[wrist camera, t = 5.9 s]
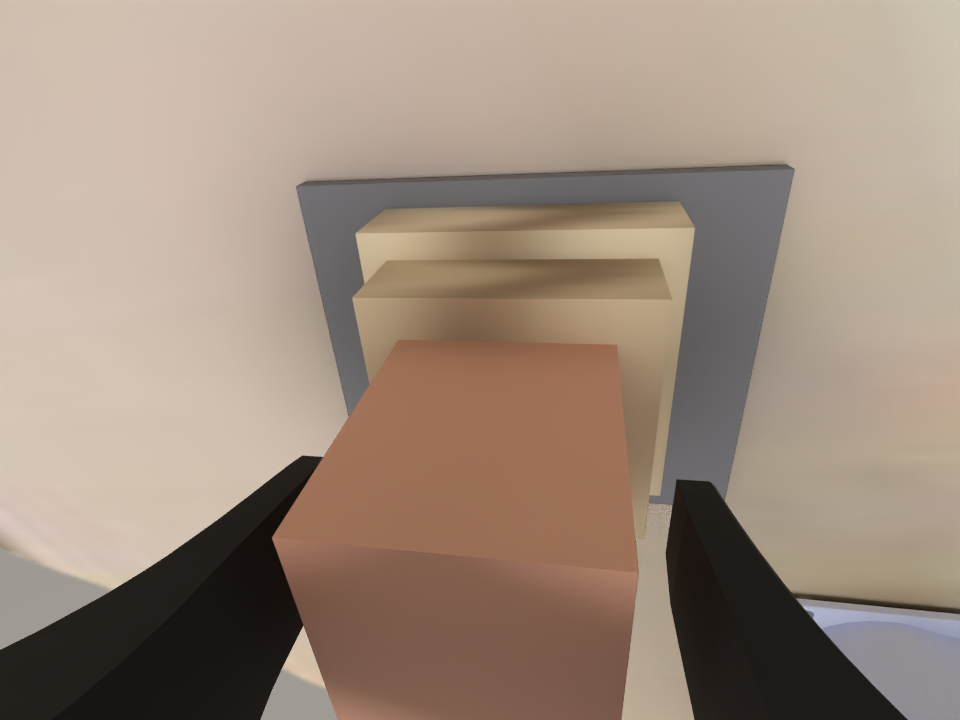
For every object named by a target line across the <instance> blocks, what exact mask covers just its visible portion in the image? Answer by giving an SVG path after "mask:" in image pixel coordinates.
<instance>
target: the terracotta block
mask: <svg viewBox="0 0 960 720" xmlns="http://www.w3.org/2000/svg"><path fill="white" fill-rule="evenodd" d="M272 539H273V542H274V545H275V548H276V550H277V553H278V556H279V559H280V562H281V564H282V567H283V570H284V573H285V575H286V578H287V581H288V584H289V586H290V589H291V592H292V595H293V597H294V600H295V603H296V606H297V608H298V611H299V614H300V617H301V620H302V622H303V625H304V628H305V631H306V633H307V636H308V639H309V642H310V644H311V647H312V650H313V653H314V655H315V658H316V661H317V664H318V666H319V669H320V672H321V675H322V678H323V680H324V683H325V686H326V689H327V691H328V694H329V697H330V700H331V702H332V705H333V708H334V711H335V713H336V716H337V719H338V720H621V717H622V709H623V701H624V692H625V684H626V675H627V667H628V659H629V650H630V642H631V634H632V625H633V617H634V608H635V600H636V592H637V583H638V575H639V570H638V560H637V549H636V539H635V529H634V518H633V508H632V498H631V487H630V477H629V466H628V456H627V446H626V435H625V425H624V414H623V404H622V394H621V383H620V373H619V363H618V352H617V345H608V344H565V343H521V342H477V341H434V340H398V341H397V343H396V344H395V346H394V347H393V349H392V350H391V352H390V354H389V355H388V357H387V358H386V360H385V361H384V363H383V365H382V366H381V368H380V369H379V371H378V372H377V374H376V375H375V377H374V379H373V380H372V382H371V383H370V385H369V386H368V388H367V390H366V391H365V393H364V394H363V396H362V397H361V399H360V401H359V402H358V404H357V405H356V407H355V408H354V410H353V411H352V413H351V415H350V416H349V418H348V419H347V421H346V422H345V424H344V426H343V427H342V429H341V430H340V432H339V433H338V435H337V437H336V438H335V440H334V441H333V443H332V444H331V446H330V448H329V449H328V451H327V452H326V454H325V455H324V457H323V458H322V460H321V462H320V463H319V465H318V466H317V468H316V469H315V471H314V473H313V474H312V476H311V477H310V479H309V480H308V482H307V484H306V485H305V487H304V488H303V490H302V491H301V493H300V494H299V496H298V498H297V499H296V501H295V502H294V504H293V505H292V507H291V509H290V510H289V512H288V513H287V515H286V516H285V518H284V520H283V521H282V523H281V524H280V526H279V527H278V529H277V531H276V532H275V534H274V535H273V537H272Z"/></svg>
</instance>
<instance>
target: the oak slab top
mask: <svg viewBox="0 0 960 720" xmlns="http://www.w3.org/2000/svg"><path fill="white" fill-rule="evenodd" d="M352 300H353V305H354V310H355V315H356V320H357V325H358V330H359V335H360V340H361V345H362V350H363V355H364V360H365V365H366V370H367V375H368V380H369V385H370V383H371V382H372V380H373V379H374V377H375V375H376V374H377V372H378V371H379V369H380V368H381V366H382V365H383V363H384V361H385V360H386V358H387V357H388V355H389V354H390V352H391V350H392V349H393V347H394V346H395V344H396V343H397V341H398V340H434V341H477V342H521V343H565V344H608V345H617V352H618V363H619V373H620V383H621V394H622V404H623V414H624V425H625V435H626V446H627V456H628V466H629V477H630V487H631V498H632V508H633V518H634V529H635V538H637V539H644V537H645V529H646V520H647V512H648V503H649V494H650V486H651V477H652V469H653V460H654V452H655V443H656V435H657V426H658V418H659V409H660V401H661V392H662V384H663V375H664V367H665V358H666V349H667V341H668V332H669V324H670V315H671V307H672V297H671V294H670V291H669V288H668V285H667V282H666V279H665V276H664V273H663V270H662V267H661V264H660V261H659V259H525V260H387V261H386V262H385V263H384V264H383V265H382V266H381V267H380V268H379V269H378V270H377V271H376V273H375V274H374V275H373V276H372V277H371V278H370V279H369V280H368V281H367V282H366V283H365V284H364V285H363V287H362V288H361V289H360V290H359V291H358V292H357V293H356V294H355V295H354V296H353V297H352Z"/></svg>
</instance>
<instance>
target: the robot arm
mask: <svg viewBox="0 0 960 720" xmlns="http://www.w3.org/2000/svg"><path fill="white" fill-rule="evenodd" d="M322 458H323V457H315V456H301V457H300V458H298V459H297V460H295V461H294V462H293V463H291V464H290V465H288V466H287V467H286V468H285V469H283V470H282V471H281V472H279V473H278V474H277V475H275V476H274V477H273V478H272V479H270V480H269V481H268V482H266V483H265V484H264V485H263V486H261V487H260V488H259V489H257V490H256V491H255V492H254V493H252V494H251V495H250V496H248V497H247V498H246V499H244V500H243V501H242V502H241V503H239V504H238V505H237V506H235V507H234V508H233V509H231V510H230V511H229V512H227V513H226V514H225V515H224V516H222V517H221V518H220V519H218V520H217V521H216V522H214V523H213V524H211V525H210V526H209V527H207V528H206V529H204V530H203V531H202V532H200V533H199V534H197V535H196V536H194V537H193V538H192V539H190V540H189V541H187V542H186V543H185V544H183V545H182V546H180V547H179V548H178V549H176V550H175V551H173V552H172V553H171V554H169V555H168V556H166V557H165V558H163V559H162V560H160V561H159V562H157V563H156V564H154V565H152V566H151V567H149V568H148V569H146V570H145V571H143V572H142V573H140V574H138V575H137V576H135V577H133V578H132V579H130V580H129V581H127V582H125V583H124V584H122V585H120V586H119V587H117V588H115V589H114V590H112V591H110V592H109V593H107V594H105V595H104V596H102V597H100V598H98V599H97V600H95V601H93V602H91V603H89V604H87V605H86V606H84V607H82V608H80V609H79V610H77V611H75V612H73V613H71V614H69V615H67V616H65V617H64V618H62V619H60V620H58V621H56V622H55V623H53V624H51V625H49V626H47V627H45V628H43V629H41V630H39V631H38V632H36V633H34V634H32V635H30V636H27V637H26V638H24V639H21V640H20V641H17V642H15V643H13V644H11V645H9V646H8V647H5V648H3V649H1V650H0V720H260V719H261V716H262V714H263V711H264V708H265V706H266V704H267V701H268V698H269V696H270V693H271V691H272V689H273V686H274V684H275V682H276V680H277V678H278V676H279V673H280V671H281V669H282V667H283V665H284V663H285V661H286V659H287V657H288V655H289V653H290V651H291V649H292V647H293V645H294V643H295V641H296V639H297V637H298V635H299V633H300V631H301V629H302V627H303V622H302V620H301V617H300V614H299V611H298V608H297V606H296V603H295V600H294V597H293V595H292V592H291V589H290V586H289V584H288V581H287V578H286V575H285V573H284V570H283V567H282V564H281V562H280V559H279V556H278V553H277V550H276V548H275V545H274V542H273V539H272V537H273V535H274V534H275V532H276V531H277V529H278V527H279V526H280V524H281V523H282V521H283V520H284V518H285V516H286V515H287V513H288V512H289V510H290V509H291V507H292V505H293V504H294V502H295V501H296V499H297V498H298V496H299V494H300V493H301V491H302V490H303V488H304V487H305V485H306V484H307V482H308V480H309V479H310V477H311V476H312V474H313V473H314V471H315V469H316V468H317V466H318V465H319V463H320V462H321V460H322ZM666 562H667V573H668V584H669V594H670V603H671V609H672V614H673V619H674V624H675V629H676V633H677V638H678V643H679V648H680V653H681V657H682V662H683V667H684V672H685V676H686V681H687V686H688V690H689V695H690V700H691V705H692V709H693V714H694V719H695V720H960V614H953V613H943V612H932V611H922V610H912V609H901V608H891V607H881V606H870V605H860V604H850V603H840V602H829V601H819V600H809V599H798V598H795V597H794V595H793V594H792V593H791V592H790V590H789V589H788V588H787V587H786V586H785V584H784V583H783V582H782V580H781V579H780V578H779V576H778V575H777V574H776V573H775V571H774V570H773V569H772V567H771V566H770V565H769V563H768V562H767V561H766V559H765V558H764V557H763V556H762V554H761V553H760V552H759V550H758V549H757V547H756V546H755V545H754V543H753V542H752V541H751V539H750V538H749V536H748V535H747V533H746V532H745V531H744V529H743V528H742V526H741V525H740V523H739V522H738V521H737V519H736V518H735V516H734V515H733V513H732V512H731V510H730V509H729V507H728V506H727V504H726V503H725V501H724V499H723V498H722V496H721V495H720V493H719V492H718V490H717V488H716V487H715V486H714V485H713V484H712V483H711V482H710V481H696V480H680V479H677V480H676V487H675V493H674V500H673V507H672V514H671V520H670V527H669V534H668V541H667V547H666Z"/></svg>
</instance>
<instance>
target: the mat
mask: <svg viewBox="0 0 960 720" xmlns="http://www.w3.org/2000/svg"><path fill="white" fill-rule="evenodd" d="M794 170H795V169H793V168H792V167H790V166H788V165H768V166H740V167H712V168H684V169H656V170H628V171H600V172H572V173H544V174H516V175H488V176H460V177H432V178H404V179H376V180H348V181H320V182H304V183H302V184H300V185H298V186H296V189H297V193H298V198H299V202H300V206H301V211H302V215H303V219H304V224H305V228H306V232H307V237H308V241H309V245H310V250H311V254H312V259H313V263H314V267H315V272H316V276H317V280H318V285H319V289H320V293H321V298H322V302H323V306H324V311H325V315H326V319H327V324H328V328H329V333H330V337H331V341H332V346H333V350H334V354H335V359H336V363H337V367H338V372H339V376H340V380H341V385H342V389H343V393H344V398H345V402H346V407H347V411H348V415H349V416H350V415H351V413H352V411H353V410H354V408H355V407H356V405H357V404H358V402H359V401H360V399H361V397H362V396H363V394H364V393H365V391H366V390H367V388H368V386H369V380H368V375H367V370H366V365H365V360H364V355H363V350H362V345H361V340H360V335H359V330H358V325H357V320H356V315H355V310H354V305H353V300H352V297H353V296H354V295H355V294H356V293H357V292H358V291H359V290H360V289H361V288H362V287H363V285H364V278H363V273H362V267H361V262H360V256H359V251H358V246H357V240H356V235H355V233H356V232H358V231H359V230H360V229H361V228H363V227H364V226H365V225H366V224H367V223H369V222H370V221H371V220H372V219H374V218H375V217H376V216H377V215H378V214H380V213H381V212H382V211H383V210H385V209H399V208H439V207H478V206H518V205H557V204H596V203H636V202H675V201H680V203H681V204H682V206H683V208H684V210H685V211H686V213H687V215H688V216H689V218H690V220H691V222H692V223H693V225H694V227H695V232H694V240H693V247H692V255H691V263H690V270H689V278H688V286H687V293H686V301H685V309H684V316H683V324H682V332H681V339H680V347H679V355H678V362H677V370H676V378H675V385H674V393H673V401H672V408H671V416H670V424H669V431H668V439H667V447H666V454H665V462H664V470H663V477H662V485H661V493H660V496H655V495H649V503H655V504H669V505H673V500H674V493H675V487H676V480H677V479H680V480H696V481H710V482H711V483H712V484H713V485H714V486H715V487H716V488H717V490H718V492H719V493H720V495H721V496H722V498H723V499H724V501H725V497H726V492H727V487H728V482H729V478H730V473H731V468H732V463H733V459H734V454H735V449H736V445H737V440H738V435H739V430H740V426H741V421H742V416H743V411H744V407H745V402H746V397H747V392H748V388H749V383H750V378H751V373H752V369H753V364H754V359H755V354H756V350H757V345H758V340H759V336H760V331H761V326H762V321H763V317H764V312H765V307H766V302H767V298H768V293H769V288H770V283H771V279H772V274H773V269H774V264H775V260H776V255H777V250H778V246H779V241H780V236H781V231H782V227H783V222H784V217H785V212H786V208H787V203H788V198H789V193H790V189H791V184H792V179H793V174H794Z"/></svg>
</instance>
